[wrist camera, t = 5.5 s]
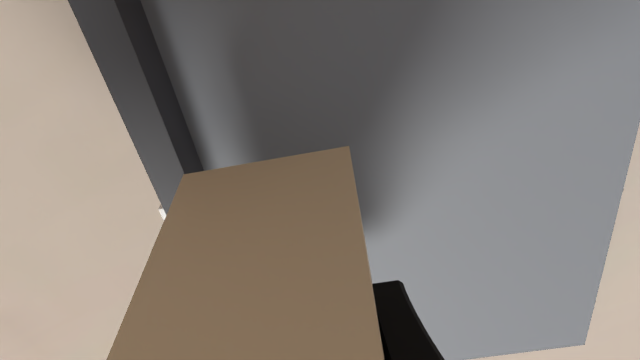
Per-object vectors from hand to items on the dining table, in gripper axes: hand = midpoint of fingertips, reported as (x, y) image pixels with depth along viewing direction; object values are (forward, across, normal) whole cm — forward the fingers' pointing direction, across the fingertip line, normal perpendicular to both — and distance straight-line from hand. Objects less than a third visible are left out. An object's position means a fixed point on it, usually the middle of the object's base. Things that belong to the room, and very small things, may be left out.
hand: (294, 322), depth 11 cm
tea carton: (+2, 0, 0) cm, 2 cm away
